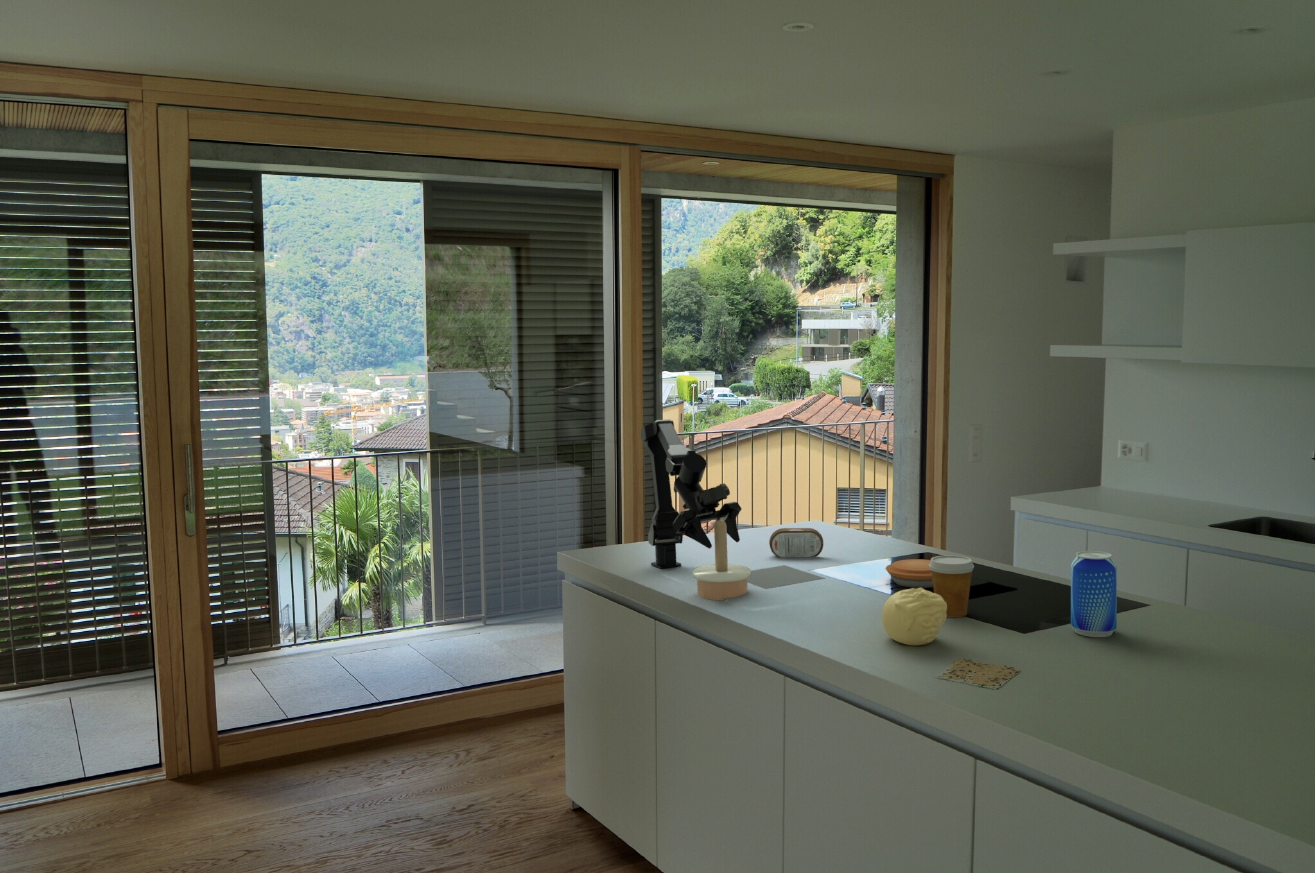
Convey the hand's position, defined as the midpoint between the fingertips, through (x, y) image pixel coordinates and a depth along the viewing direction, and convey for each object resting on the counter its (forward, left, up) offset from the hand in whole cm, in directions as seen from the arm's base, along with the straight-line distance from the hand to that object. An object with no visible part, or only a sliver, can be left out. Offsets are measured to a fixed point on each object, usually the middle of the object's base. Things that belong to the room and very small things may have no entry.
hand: (724, 544), depth 238 cm
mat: (-6, +19, -12) cm, 23 cm away
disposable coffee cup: (+43, +32, -13) cm, 55 cm away
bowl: (-1, 0, -12) cm, 12 cm away
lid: (-1, 0, -8) cm, 8 cm away
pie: (+18, +45, -13) cm, 50 cm away
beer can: (+69, +45, -13) cm, 83 cm away
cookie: (+74, +8, -13) cm, 75 cm away
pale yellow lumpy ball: (+53, +12, -13) cm, 55 cm away
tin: (-22, +37, -13) cm, 45 cm away
